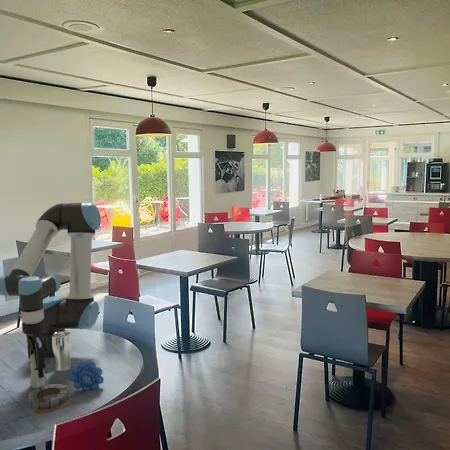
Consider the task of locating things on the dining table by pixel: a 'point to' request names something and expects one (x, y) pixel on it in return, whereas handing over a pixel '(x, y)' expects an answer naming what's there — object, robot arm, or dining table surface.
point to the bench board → (40, 412)
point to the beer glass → (62, 350)
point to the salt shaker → (34, 374)
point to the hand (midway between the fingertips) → (38, 381)
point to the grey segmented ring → (48, 403)
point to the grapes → (86, 375)
